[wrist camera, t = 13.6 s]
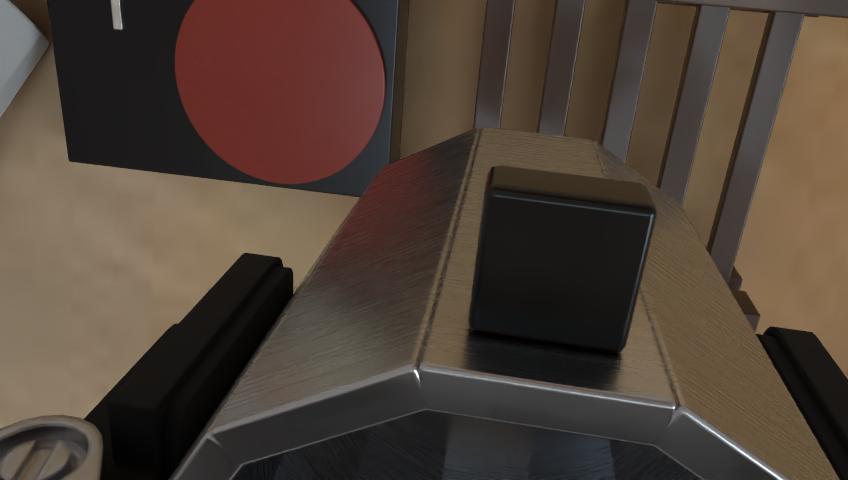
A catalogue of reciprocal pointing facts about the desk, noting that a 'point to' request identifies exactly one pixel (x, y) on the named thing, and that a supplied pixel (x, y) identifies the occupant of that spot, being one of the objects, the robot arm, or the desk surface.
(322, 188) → the hob
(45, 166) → the desk surface
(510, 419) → the steel pot
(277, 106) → the hot plate
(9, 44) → the handheld device
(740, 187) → the drying rack
